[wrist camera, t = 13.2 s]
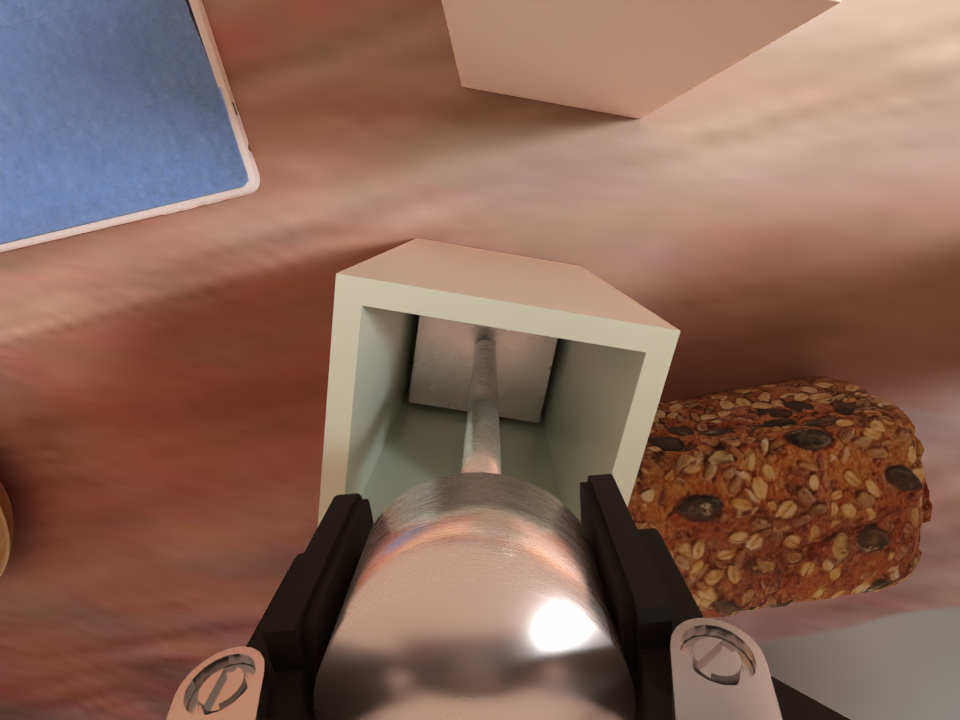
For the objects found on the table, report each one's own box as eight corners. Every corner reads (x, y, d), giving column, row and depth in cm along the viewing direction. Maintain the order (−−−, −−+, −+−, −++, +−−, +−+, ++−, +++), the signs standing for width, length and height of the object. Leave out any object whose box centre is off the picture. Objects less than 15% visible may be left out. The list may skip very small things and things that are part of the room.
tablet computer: (188, -58, 25) (171, -72, 24) (269, 192, 29) (259, 191, 28) (-137, 34, 27) (-167, 26, 25) (-20, 260, 30) (-42, 262, 29)
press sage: (580, 265, 29) (680, 330, 14) (547, 415, 32) (598, 602, 17) (417, 237, 29) (335, 273, 14) (398, 391, 32) (315, 560, 17)
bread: (563, 541, 35) (590, 664, 26) (542, 410, 32) (564, 495, 23) (825, 503, 34) (956, 618, 25) (830, 362, 31) (981, 431, 21)
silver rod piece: (565, 291, 26) (796, 551, 6) (538, 418, 28) (646, 892, 9) (427, 268, 26) (230, 464, 6) (410, 398, 28) (227, 838, 9)
